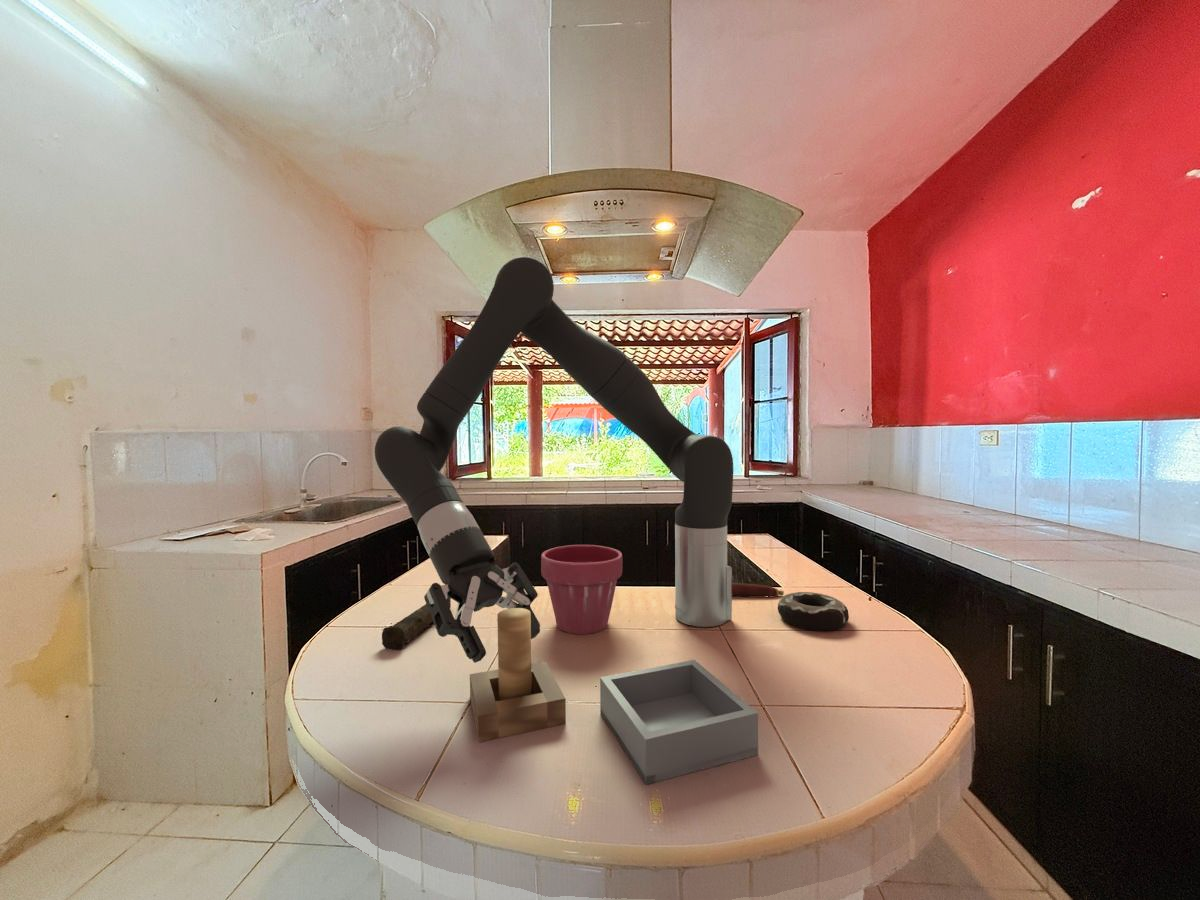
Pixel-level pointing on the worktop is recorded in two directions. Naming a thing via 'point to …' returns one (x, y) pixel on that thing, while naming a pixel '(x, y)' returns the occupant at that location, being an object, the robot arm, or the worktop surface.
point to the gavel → (754, 590)
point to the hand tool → (407, 628)
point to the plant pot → (581, 585)
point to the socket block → (516, 705)
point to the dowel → (514, 653)
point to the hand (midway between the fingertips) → (509, 646)
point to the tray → (677, 720)
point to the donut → (813, 611)
